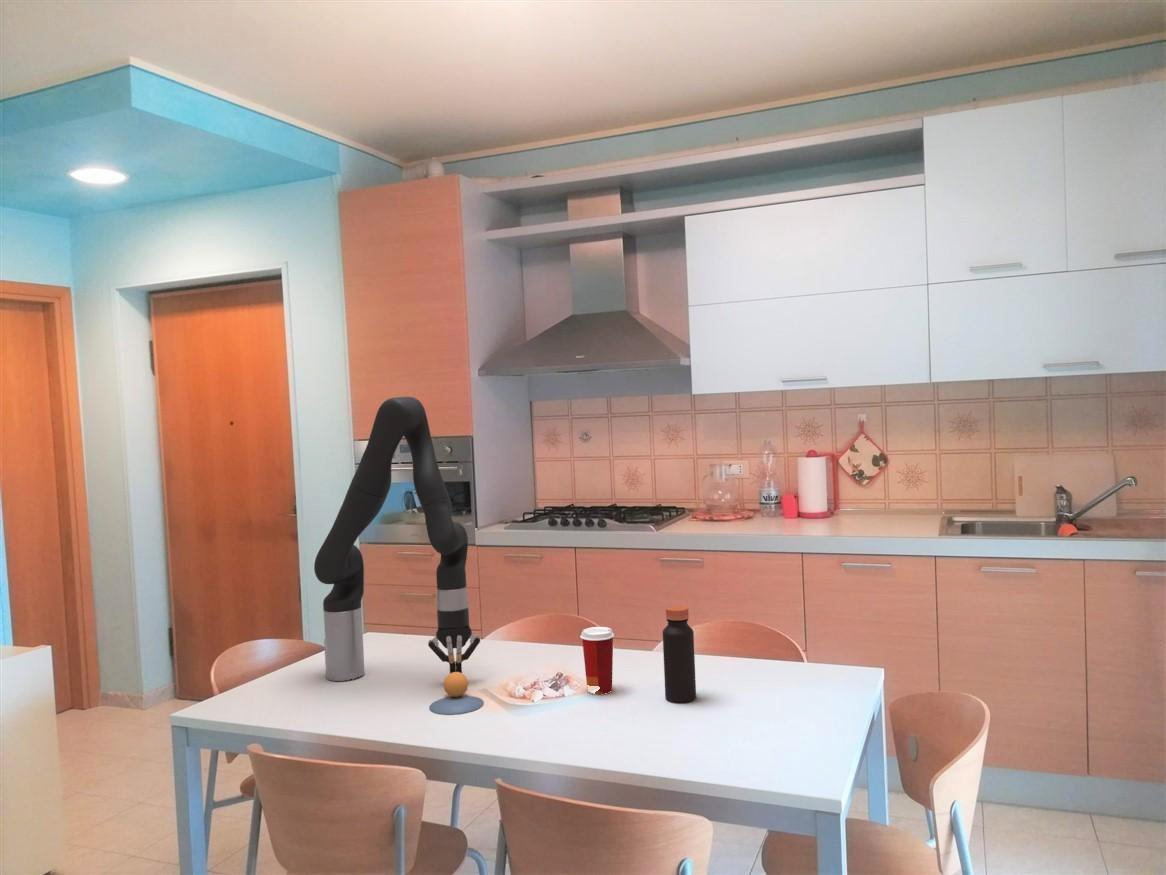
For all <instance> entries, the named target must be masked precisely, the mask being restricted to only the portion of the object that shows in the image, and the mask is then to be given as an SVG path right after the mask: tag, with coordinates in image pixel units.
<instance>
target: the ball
mask: <svg viewBox="0 0 1166 875" xmlns="http://www.w3.org/2000/svg"><path fill="white" fill-rule="evenodd" d="M468 688H469V680H468V678H467V676H466V675H465V674H464V673H463V672H462V673H460V672H453V673H450V672H449V674H448V675H447V676H446V677H445V678H444V681H443V689H444V690H443V691H445V693H446V695H448V697H460V696H464V695H465V694H466V692H467V690H468Z"/></svg>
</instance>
